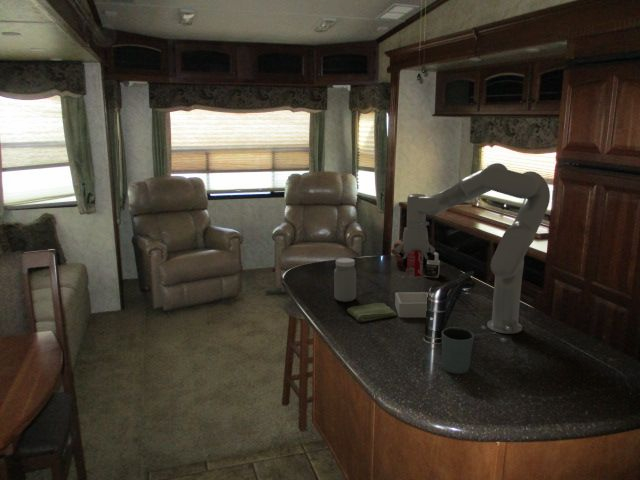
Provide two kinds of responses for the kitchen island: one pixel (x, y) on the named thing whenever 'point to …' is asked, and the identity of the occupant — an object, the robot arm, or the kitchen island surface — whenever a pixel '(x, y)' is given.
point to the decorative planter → (394, 252)
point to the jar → (345, 280)
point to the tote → (411, 304)
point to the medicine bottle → (432, 266)
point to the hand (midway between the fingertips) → (414, 267)
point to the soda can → (414, 263)
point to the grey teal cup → (456, 349)
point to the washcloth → (371, 312)
